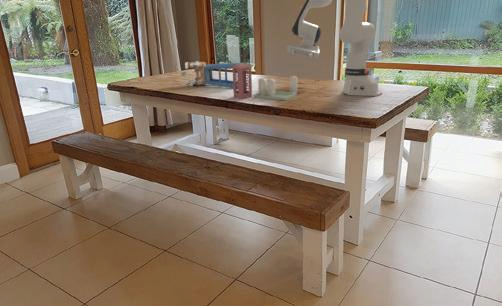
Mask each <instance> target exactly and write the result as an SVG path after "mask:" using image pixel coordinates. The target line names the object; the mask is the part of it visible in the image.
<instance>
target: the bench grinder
mask: <svg viewBox="0 0 502 306" xmlns="http://www.w3.org/2000/svg"><path fill="white" fill-rule="evenodd" d="M240 63H241V62H229V63H214V64H213V63H208V64H206V62H205V61H197V60H196V61H195V62H194V61H193V62H188V61H187V62H186V61H185V62H184V66H185V67H184V68H185V70H187V69H189V68H190V67H192V68H193V69H194V71H193V70H192V71H191V73H193V72H195V76H196V77H195V78H193V79H188V86H191V87H193V86H194V85H195V86H196V85H197V86H200V85H210V86H218V87H225V88H230V89H231V88H232V89H233V80H230V79H229V80H228V69H232V68H231V67H232V66H233V65H235V64H240ZM243 63H244V64H248V63H247V62H243ZM213 70H218V78H213ZM221 70H224V79H222V76H221V73H222V72H221ZM232 70H233V69H232ZM189 73H190V71H187V72H186V71H182V72H181V74H180V75H181V76H182V77H185V76H186V75H187V74H189ZM237 85H238V82H237ZM236 90H238V87H237V89H236Z"/></svg>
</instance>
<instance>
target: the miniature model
mask: <svg viewBox="0 0 502 306" xmlns="http://www.w3.org/2000/svg"><path fill="white" fill-rule="evenodd" d="M239 63H240V64H235V65H233V66H232V67H231V68H232V81H233V88H232V89H233V97H234V98H237V99H239V100H243V99H249V98H253V87H252V86H253V84H252V68H253V67H252V65H250V64H249V63H247V64H244V63H245V62H239ZM237 82H238V85H237ZM237 87H238V89H237Z"/></svg>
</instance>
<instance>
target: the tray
mask: <svg viewBox="0 0 502 306" xmlns="http://www.w3.org/2000/svg"><path fill="white" fill-rule="evenodd" d="M294 97H297V93H295V92H290V91H279V90H275V96H265V95H259V92H257V93H256V94H253V98H254V99H266V100H278V101H288V100H290V99H292V98H294Z"/></svg>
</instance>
